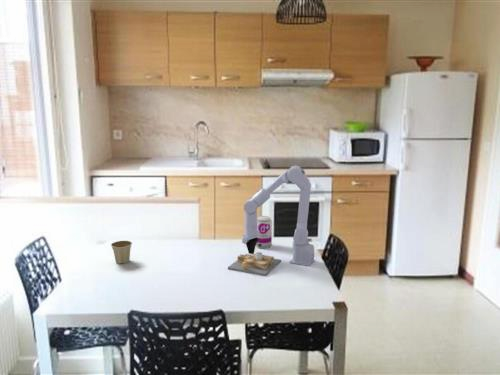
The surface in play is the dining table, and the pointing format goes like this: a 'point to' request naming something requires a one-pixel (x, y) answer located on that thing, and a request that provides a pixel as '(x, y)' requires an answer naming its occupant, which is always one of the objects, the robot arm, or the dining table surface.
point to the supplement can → (264, 232)
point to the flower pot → (121, 251)
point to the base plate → (243, 268)
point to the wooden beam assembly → (256, 261)
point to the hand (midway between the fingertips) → (251, 253)
